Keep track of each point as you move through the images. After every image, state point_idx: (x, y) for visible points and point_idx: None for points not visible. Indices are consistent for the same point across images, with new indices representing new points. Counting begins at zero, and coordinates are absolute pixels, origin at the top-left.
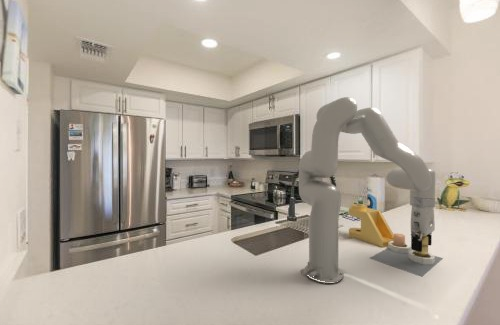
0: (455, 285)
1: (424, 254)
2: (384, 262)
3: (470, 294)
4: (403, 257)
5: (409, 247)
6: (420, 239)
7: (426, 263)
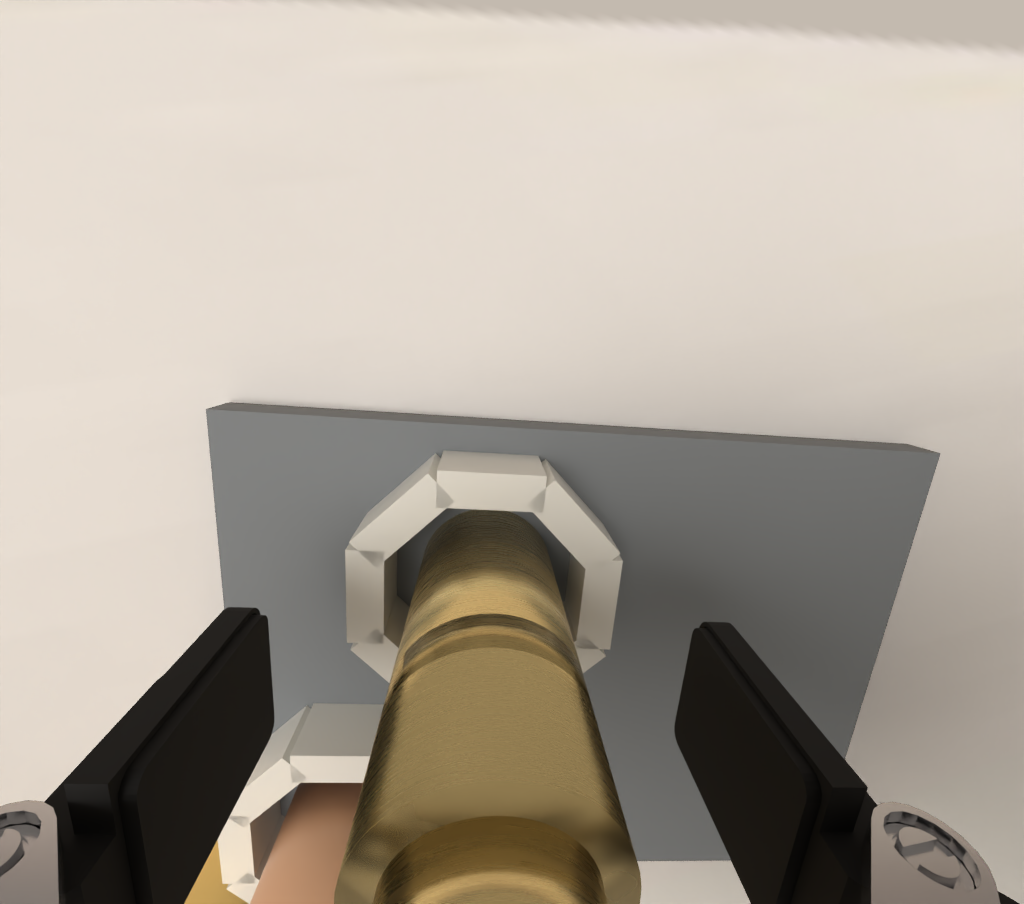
0: (823, 193)
1: (548, 574)
2: None
3: (946, 47)
4: None
5: (334, 754)
6: (905, 847)
7: (582, 502)
